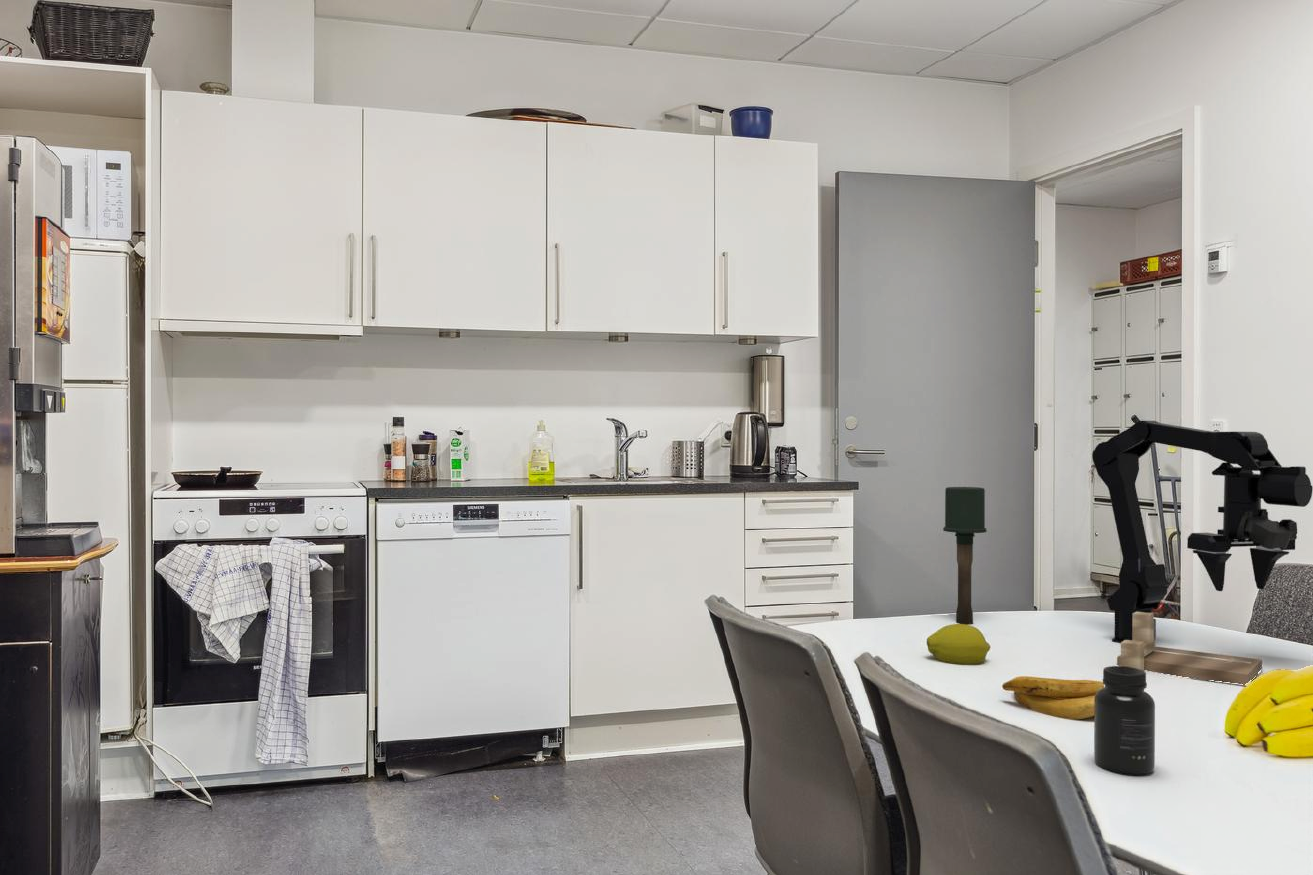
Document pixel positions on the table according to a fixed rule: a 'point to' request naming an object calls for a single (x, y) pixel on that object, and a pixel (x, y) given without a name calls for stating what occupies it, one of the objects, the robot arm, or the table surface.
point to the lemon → (958, 645)
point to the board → (1201, 665)
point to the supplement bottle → (1124, 722)
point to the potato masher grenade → (964, 538)
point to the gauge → (1139, 641)
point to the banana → (1056, 695)
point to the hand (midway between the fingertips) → (1240, 589)
